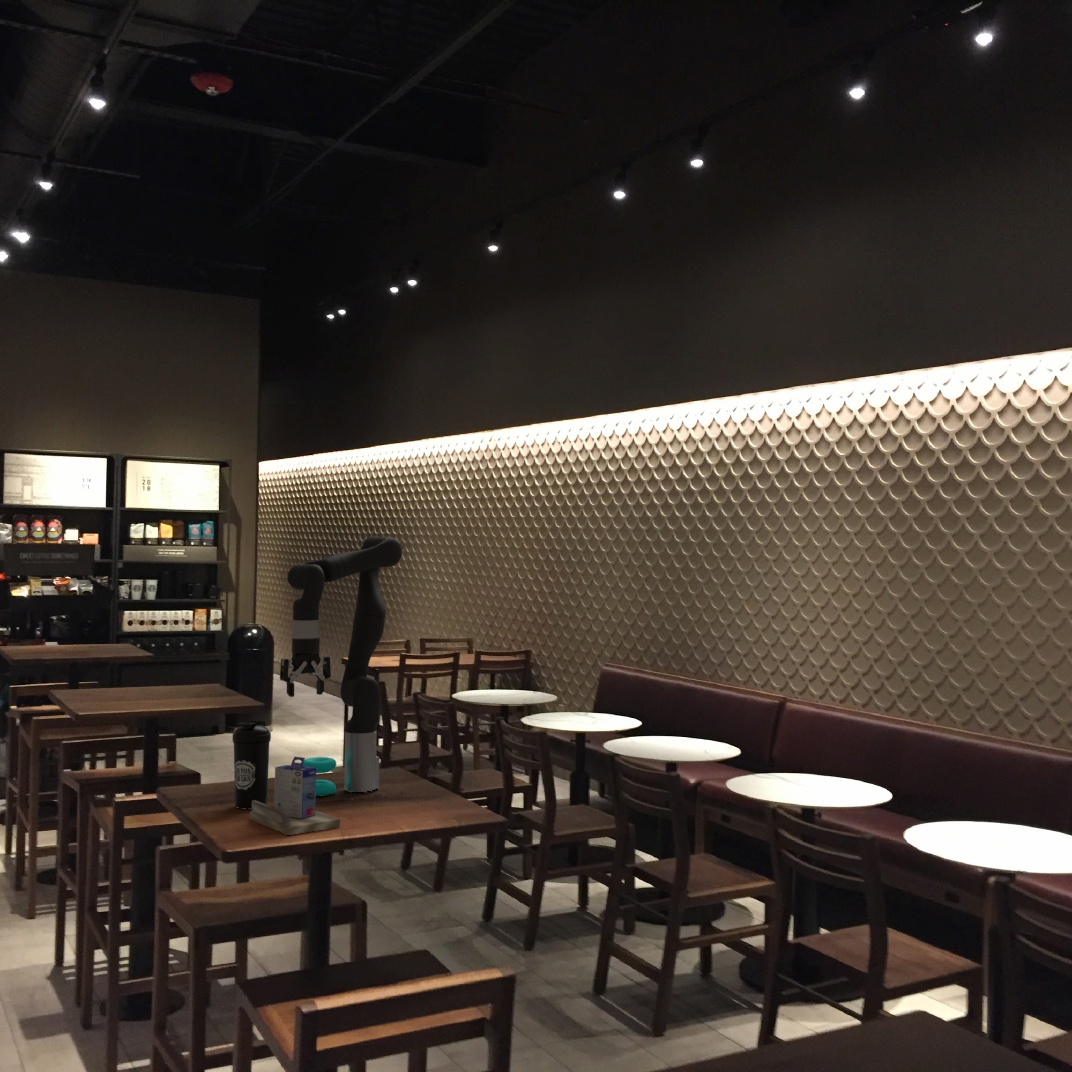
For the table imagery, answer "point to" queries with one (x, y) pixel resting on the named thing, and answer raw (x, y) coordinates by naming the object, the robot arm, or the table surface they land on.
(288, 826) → the shelf board
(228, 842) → the table surface
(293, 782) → the ink cartridge box
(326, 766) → the donuts
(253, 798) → the water bottle
